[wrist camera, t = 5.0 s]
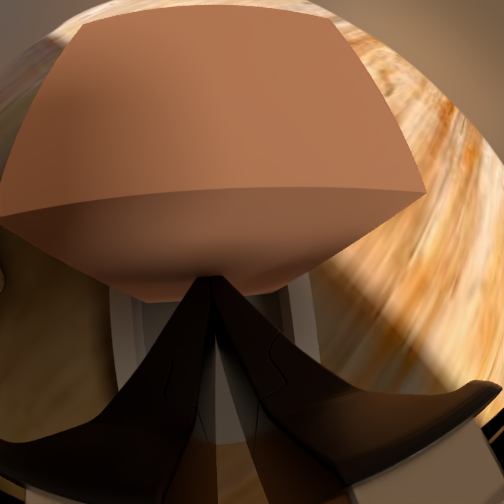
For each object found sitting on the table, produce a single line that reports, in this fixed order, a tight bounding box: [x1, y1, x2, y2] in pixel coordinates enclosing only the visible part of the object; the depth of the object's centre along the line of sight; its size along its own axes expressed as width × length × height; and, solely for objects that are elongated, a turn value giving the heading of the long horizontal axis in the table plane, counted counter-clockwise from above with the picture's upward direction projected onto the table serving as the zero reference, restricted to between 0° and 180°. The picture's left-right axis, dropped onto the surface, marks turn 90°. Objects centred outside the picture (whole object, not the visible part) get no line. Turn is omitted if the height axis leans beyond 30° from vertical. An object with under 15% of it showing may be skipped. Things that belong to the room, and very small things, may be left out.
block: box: [0, 5, 427, 303], centre depth 10 cm, size 6×7×12 cm
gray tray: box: [109, 272, 320, 445], centre depth 14 cm, size 18×10×4 cm, turn 7°
